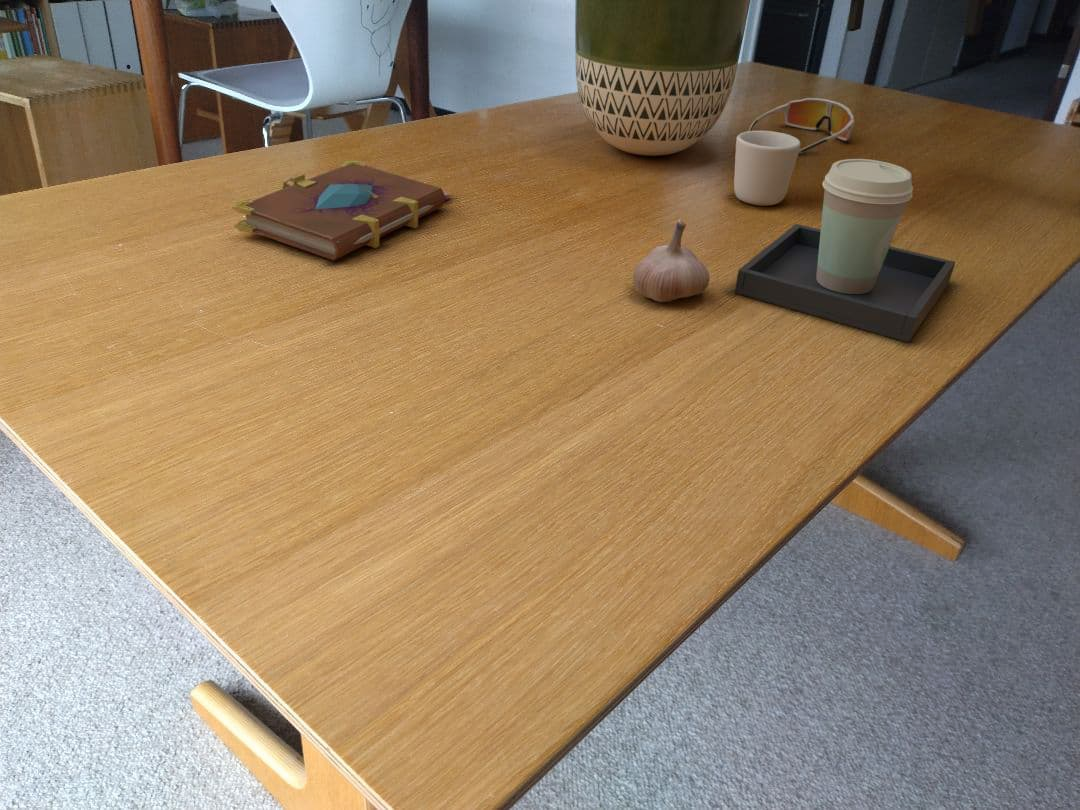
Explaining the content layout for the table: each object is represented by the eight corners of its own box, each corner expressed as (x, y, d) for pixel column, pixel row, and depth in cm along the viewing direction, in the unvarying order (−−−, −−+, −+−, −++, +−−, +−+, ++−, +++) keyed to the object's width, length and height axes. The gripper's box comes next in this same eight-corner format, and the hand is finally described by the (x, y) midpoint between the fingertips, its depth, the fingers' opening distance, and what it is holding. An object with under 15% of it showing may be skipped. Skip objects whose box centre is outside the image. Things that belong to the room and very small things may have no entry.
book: (467, 207, 111) (468, 169, 108) (338, 274, 93) (335, 229, 90) (365, 176, 117) (364, 139, 114) (225, 233, 99) (219, 190, 96)
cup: (745, 180, 122) (755, 122, 117) (802, 191, 118) (814, 132, 114) (718, 202, 114) (728, 140, 109) (778, 215, 110) (790, 151, 106)
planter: (680, 124, 146) (701, -59, 131) (760, 168, 127) (796, -40, 112) (542, 133, 138) (549, -60, 124) (606, 181, 119) (623, -40, 105)
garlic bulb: (713, 289, 91) (725, 215, 87) (694, 317, 85) (705, 239, 81) (644, 274, 93) (652, 202, 89) (621, 301, 88) (628, 224, 83)
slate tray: (948, 284, 94) (955, 261, 93) (908, 342, 82) (915, 317, 81) (791, 244, 102) (795, 223, 101) (734, 293, 90) (738, 269, 89)
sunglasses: (865, 140, 140) (870, 109, 137) (807, 170, 133) (811, 138, 130) (792, 120, 149) (795, 91, 146) (734, 147, 142) (736, 117, 139)
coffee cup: (878, 307, 87) (909, 190, 81) (793, 287, 90) (816, 173, 84) (894, 278, 93) (924, 166, 87) (814, 260, 97) (837, 152, 90)
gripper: (1042, -161, 99) (1005, 40, 105) (821, -171, 100) (796, 31, 106) (1079, -185, 92) (1036, 33, 98) (841, -195, 92) (813, 23, 99)
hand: (912, 32), depth 102 cm, fingers open, 13 cm apart
